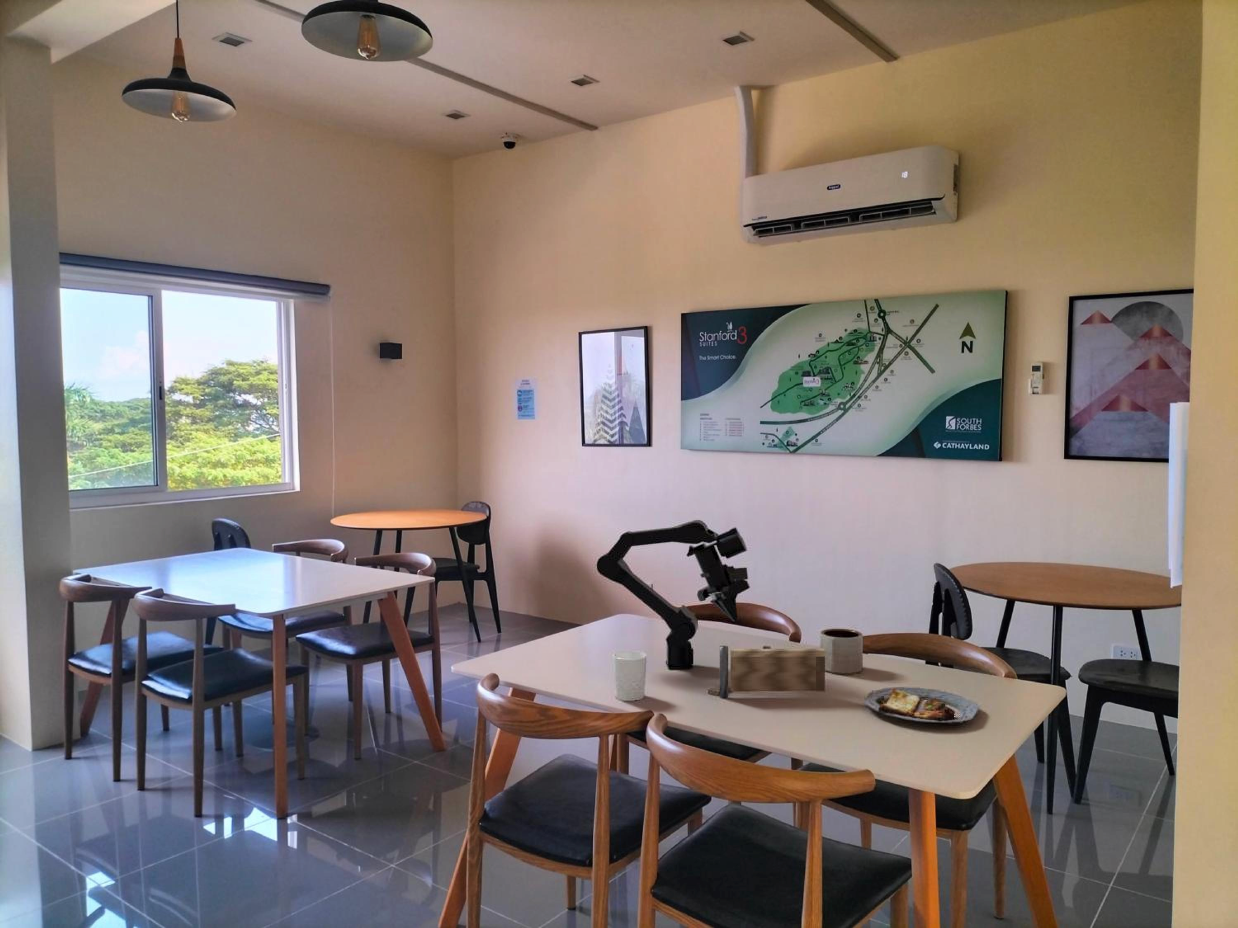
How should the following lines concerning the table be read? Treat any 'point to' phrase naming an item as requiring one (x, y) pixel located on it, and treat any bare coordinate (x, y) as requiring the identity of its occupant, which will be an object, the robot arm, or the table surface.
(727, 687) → the gate frame
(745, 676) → the gate leaf
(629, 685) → the white cup
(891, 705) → the food plate
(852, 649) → the planter
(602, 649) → the table surface
